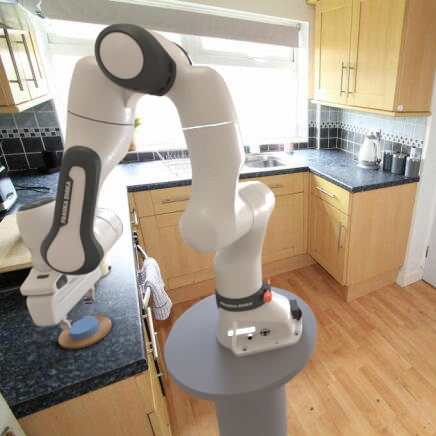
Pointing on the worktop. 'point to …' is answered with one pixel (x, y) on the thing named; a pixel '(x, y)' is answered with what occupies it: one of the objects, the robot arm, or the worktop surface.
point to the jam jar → (103, 267)
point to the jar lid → (84, 328)
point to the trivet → (72, 343)
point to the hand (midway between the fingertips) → (80, 314)
